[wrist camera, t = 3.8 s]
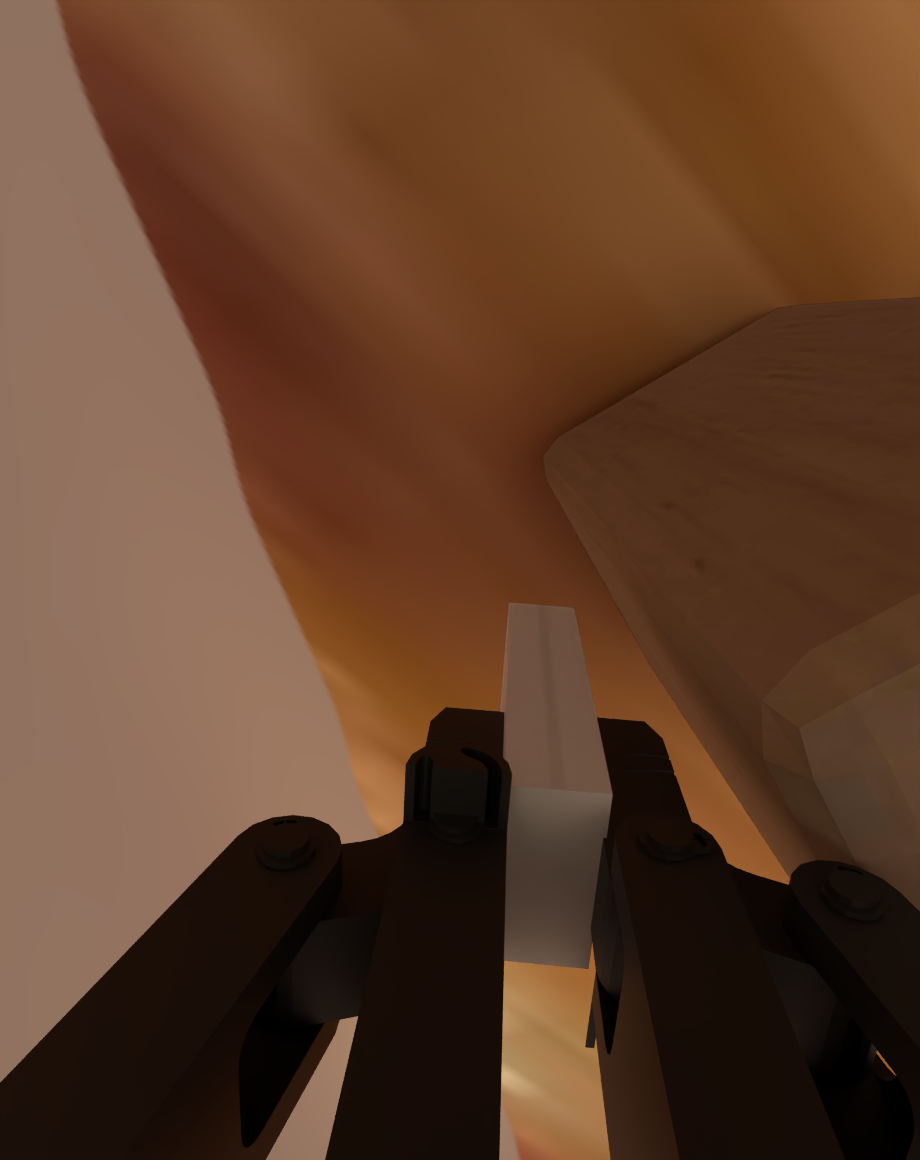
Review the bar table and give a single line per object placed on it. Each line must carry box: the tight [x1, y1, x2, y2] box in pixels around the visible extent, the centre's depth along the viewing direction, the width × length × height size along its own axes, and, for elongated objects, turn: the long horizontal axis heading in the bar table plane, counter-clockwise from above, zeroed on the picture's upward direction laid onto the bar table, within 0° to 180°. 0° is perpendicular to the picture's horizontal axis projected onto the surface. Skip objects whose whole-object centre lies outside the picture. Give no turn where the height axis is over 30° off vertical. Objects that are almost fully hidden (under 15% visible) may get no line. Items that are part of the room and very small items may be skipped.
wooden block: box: [543, 297, 920, 911], centre depth 18 cm, size 10×10×20 cm
